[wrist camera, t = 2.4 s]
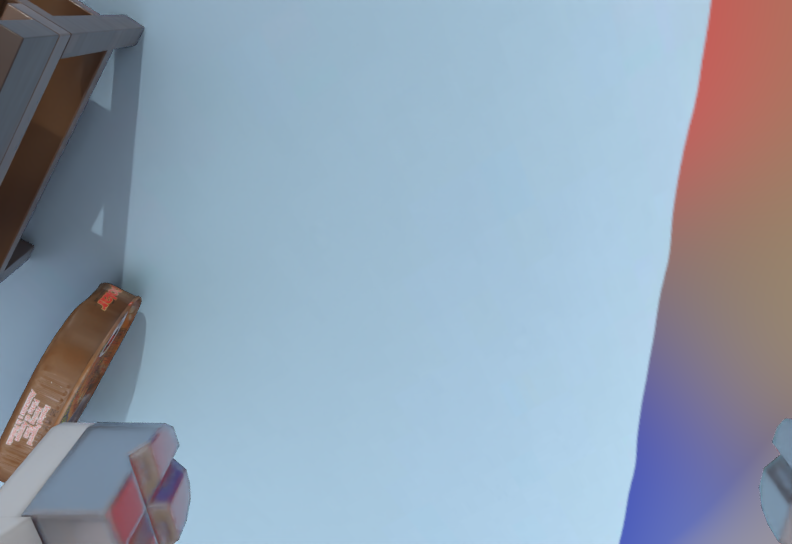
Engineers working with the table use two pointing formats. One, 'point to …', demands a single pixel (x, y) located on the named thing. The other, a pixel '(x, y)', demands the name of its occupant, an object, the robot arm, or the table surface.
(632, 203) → the table surface
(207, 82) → the table surface
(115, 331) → the tin
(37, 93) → the rack
